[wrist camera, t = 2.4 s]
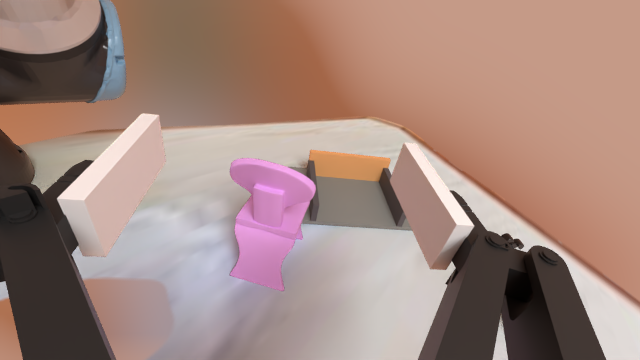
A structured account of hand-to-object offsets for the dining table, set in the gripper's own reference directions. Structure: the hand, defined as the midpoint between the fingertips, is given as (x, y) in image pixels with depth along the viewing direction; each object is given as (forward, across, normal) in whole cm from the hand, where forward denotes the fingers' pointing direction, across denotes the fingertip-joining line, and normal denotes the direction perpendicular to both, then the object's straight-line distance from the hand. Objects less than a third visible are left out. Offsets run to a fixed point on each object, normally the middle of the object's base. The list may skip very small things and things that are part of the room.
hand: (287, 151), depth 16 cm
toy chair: (+10, 0, -21) cm, 23 cm away
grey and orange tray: (+21, +12, -20) cm, 32 cm away
